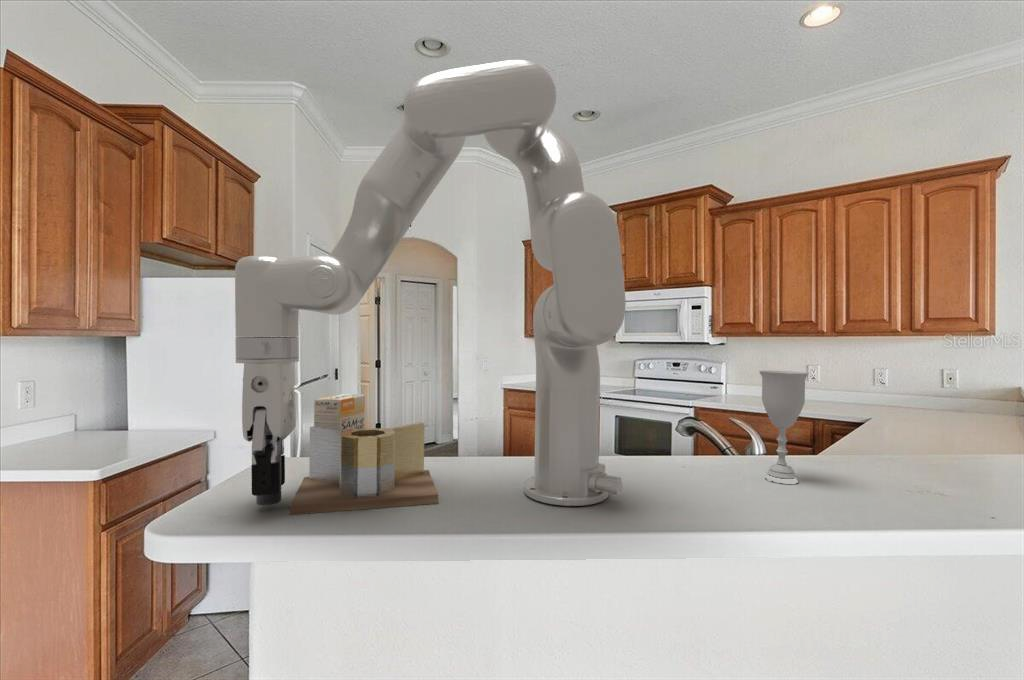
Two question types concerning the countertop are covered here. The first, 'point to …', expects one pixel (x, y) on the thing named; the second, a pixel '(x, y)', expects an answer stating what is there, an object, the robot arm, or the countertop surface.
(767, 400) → the chalice
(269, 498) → the hinge pin
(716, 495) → the countertop surface
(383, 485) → the hinge
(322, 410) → the supplement box
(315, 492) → the walnut board
